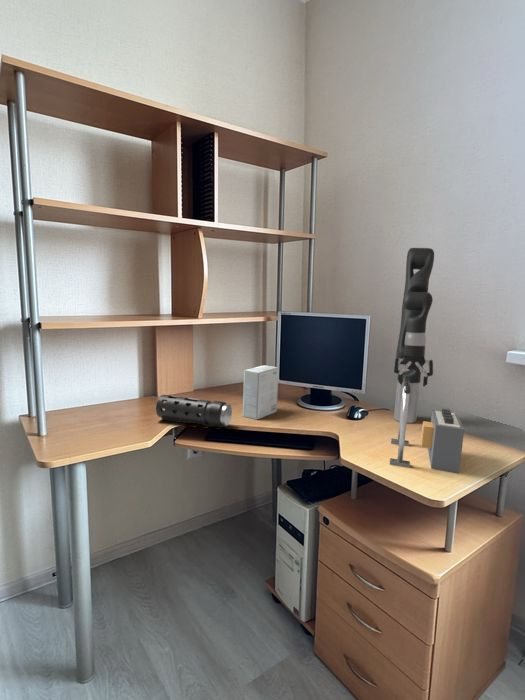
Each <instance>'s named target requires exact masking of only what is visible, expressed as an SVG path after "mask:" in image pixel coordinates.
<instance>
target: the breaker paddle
mask: <svg viewBox="0 0 525 700" xmlns="http://www.w3.org/2000/svg"><path fill="white" fill-rule="evenodd" d="M421 428H422V429H421V437H420V444H421V446H420V447H421V448H427V449H428V448H432V440H433V432H434V424H433V422H431V421H422V427H421Z"/></svg>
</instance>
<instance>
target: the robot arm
mask: <svg viewBox="0 0 525 700" xmlns="http://www.w3.org/2000/svg"><path fill="white" fill-rule="evenodd" d="M406 254H407V256H406V266H405V267H406V269H405V281H404V282H405V283H404V292H403V298H402V307H401V319H400V329H399V334H398V341H397V347H396V354H395V360H394V368H393V373H394V374H397V380H396V381H397V382H396V391H395V401H394V410H393V411H394V413H393V419H394V421H396V422H400V412H401V402H402V393H403V378H404V377H405V376H408V377H409V382H410V394H409V403H408V413H407V423H406V424H412V423H417V417H418V416H417V414H418V408H419V407H418V406H419V395H420V390H421V389H420V388H421V378H422V377H421V376H422V375H423V379H422V382H423V383H422V387H426V386H427V385H428V378H429V377H432V376H433V375H434V360H433V359H427V360H426V358H425V357H426V356H425V354H426V327H427V320H428V315H429V313H430V310H431V307H432V304H433V296H432V294H431V293H430V292H429V281H430V278H431V274H432V270H433V267H434V263H435V251H434V249H432V248H430V247H429V248H428V247H411V248H409V249H408V250H407V253H406ZM414 270H417V271H416V272H415V271H414ZM414 272H415V273H414ZM425 364H426V365H427V366H428V371H429V372H427V371H426V369H425V367H424V365H425ZM399 365H403V367H402V368H401V369H400V370H399V367H400V366H399Z"/></svg>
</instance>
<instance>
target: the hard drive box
mask: <svg viewBox="0 0 525 700" xmlns="http://www.w3.org/2000/svg"><path fill="white" fill-rule="evenodd" d="M278 386H279V367H278V366H277V367H276V366H272V365H265V364H264V365H260V366H256V367H252V368H248V369H244V370H243V396H242V397H243V398H242V399H243V400H242V417H244V418H248V419H253V420H257V421H258V420H260V419H262V418H265V417H267V416H270V415H273V414H274V413H277V412H278V391H279V390H278Z"/></svg>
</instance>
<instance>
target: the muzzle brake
mask: <svg viewBox="0 0 525 700" xmlns="http://www.w3.org/2000/svg"><path fill="white" fill-rule="evenodd" d="M155 413H156V415H157V417H159V418H161V420H164V421H170V422H176V423H183V424H184V423H187V424H191V423H193V424H198V425H199V424H200V425H202V426H203V427H206V428H213V427H217V428H222V427H228V426H229V425H230V423H231V420H232V415H233V410H232V405H231V404H230V403H227V402H226V401H220V400H214V401H211V400H206V399H200V398H193V397H192V398H191V397H186V396H185V397H184V396H183V397H182V396H175V395H169V394H168V395H167V394H161V395H160V396H159V397H158V399H157V401H156V406H155Z"/></svg>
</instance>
